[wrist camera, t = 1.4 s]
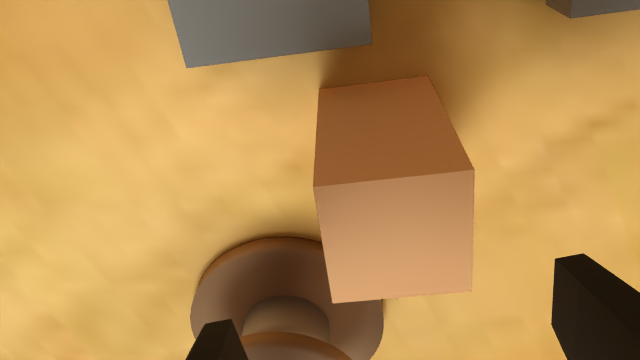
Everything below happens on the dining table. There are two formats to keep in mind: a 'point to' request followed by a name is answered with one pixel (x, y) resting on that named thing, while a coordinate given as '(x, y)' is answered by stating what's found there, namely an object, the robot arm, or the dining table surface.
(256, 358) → the spool post
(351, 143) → the copper block
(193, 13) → the notched board
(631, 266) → the dining table surface
